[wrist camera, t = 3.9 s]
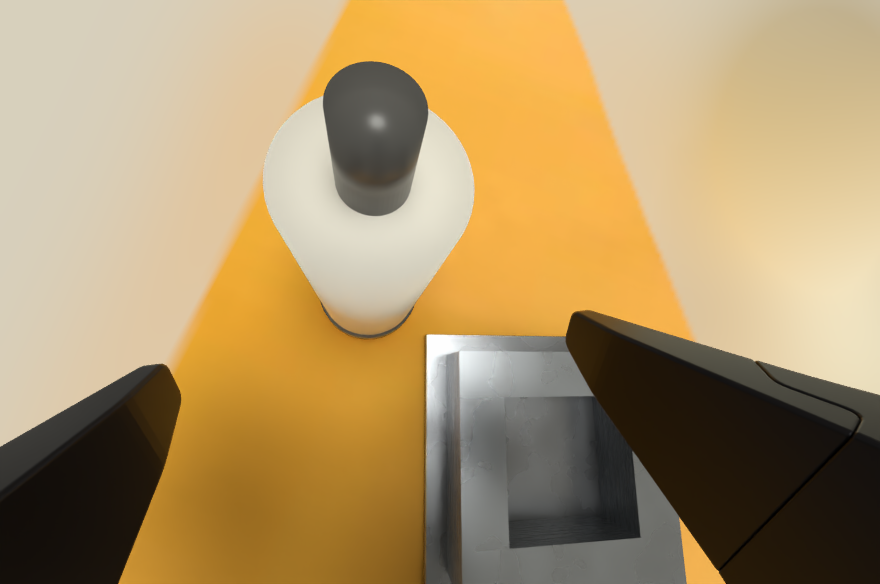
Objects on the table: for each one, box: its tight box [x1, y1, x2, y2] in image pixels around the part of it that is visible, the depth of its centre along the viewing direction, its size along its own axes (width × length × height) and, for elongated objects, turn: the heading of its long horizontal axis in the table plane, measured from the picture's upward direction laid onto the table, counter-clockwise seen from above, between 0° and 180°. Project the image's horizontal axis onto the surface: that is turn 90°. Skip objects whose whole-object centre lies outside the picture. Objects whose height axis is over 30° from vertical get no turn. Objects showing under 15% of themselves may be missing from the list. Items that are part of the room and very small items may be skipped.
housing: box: [424, 335, 687, 584], centre depth 19 cm, size 12×12×4 cm
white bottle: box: [263, 61, 474, 339], centre depth 14 cm, size 5×5×15 cm
